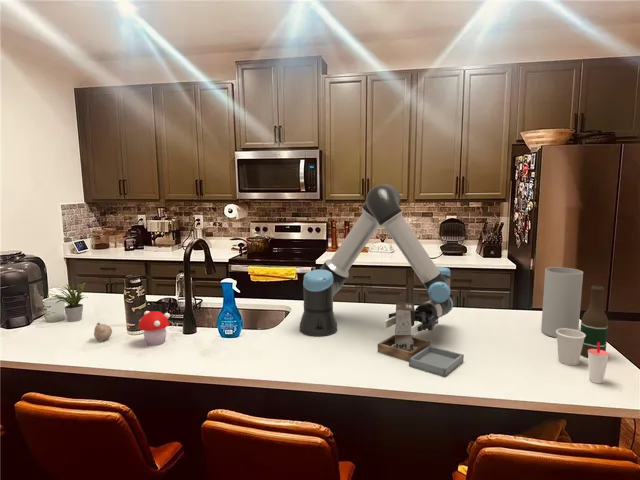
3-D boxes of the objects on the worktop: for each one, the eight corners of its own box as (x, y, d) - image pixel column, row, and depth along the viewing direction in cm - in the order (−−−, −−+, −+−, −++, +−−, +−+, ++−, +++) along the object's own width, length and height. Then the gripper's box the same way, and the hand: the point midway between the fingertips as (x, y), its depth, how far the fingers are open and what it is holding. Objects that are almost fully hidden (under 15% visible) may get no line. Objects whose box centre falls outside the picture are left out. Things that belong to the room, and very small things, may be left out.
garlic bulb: (90, 341, 160) (88, 320, 159) (105, 335, 166) (104, 315, 165) (101, 344, 157) (99, 323, 156) (116, 338, 163) (115, 318, 162)
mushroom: (176, 342, 158) (174, 311, 157) (147, 350, 151) (145, 318, 149) (162, 335, 166) (160, 305, 164) (134, 343, 158) (132, 311, 156)
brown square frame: (377, 352, 148) (377, 343, 148) (398, 340, 159) (398, 332, 158) (411, 362, 140) (411, 353, 139) (430, 349, 150) (430, 341, 150)
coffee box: (413, 356, 144) (414, 310, 142) (394, 355, 146) (395, 309, 143) (413, 346, 153) (414, 302, 151) (395, 345, 154) (396, 302, 152)
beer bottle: (580, 357, 142) (586, 288, 139) (576, 349, 150) (581, 282, 146) (608, 361, 140) (614, 290, 136) (602, 352, 147) (608, 284, 143)
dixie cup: (548, 356, 144) (551, 328, 142) (574, 356, 143) (576, 328, 142) (562, 367, 135) (564, 337, 134) (588, 367, 135) (591, 337, 134)
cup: (587, 383, 125) (590, 344, 123) (583, 375, 130) (586, 337, 128) (608, 386, 123) (612, 346, 121) (604, 378, 128) (607, 340, 126)
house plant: (72, 313, 194) (69, 278, 192) (100, 314, 192) (98, 279, 190) (49, 323, 180) (45, 286, 178) (78, 325, 178) (75, 287, 176)
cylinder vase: (581, 341, 157) (587, 275, 154) (544, 337, 161) (548, 272, 158) (573, 330, 169) (578, 268, 165) (538, 326, 173) (542, 266, 169)
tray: (409, 366, 137) (409, 358, 137) (428, 352, 148) (429, 345, 147) (445, 377, 129) (445, 369, 129) (463, 361, 140) (463, 354, 140)
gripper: (456, 328, 155) (428, 346, 138) (402, 316, 169) (370, 331, 152) (456, 308, 154) (428, 324, 137) (402, 297, 168) (371, 311, 151)
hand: (398, 327), depth 145 cm, fingers closed on coffee box, 9 cm apart
